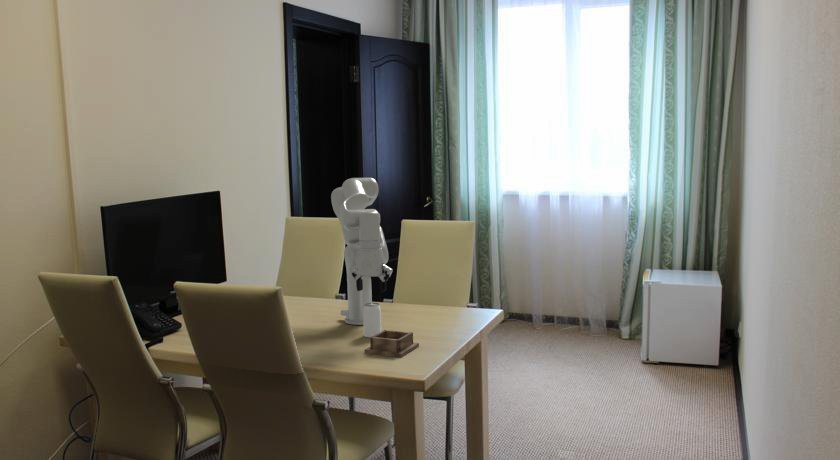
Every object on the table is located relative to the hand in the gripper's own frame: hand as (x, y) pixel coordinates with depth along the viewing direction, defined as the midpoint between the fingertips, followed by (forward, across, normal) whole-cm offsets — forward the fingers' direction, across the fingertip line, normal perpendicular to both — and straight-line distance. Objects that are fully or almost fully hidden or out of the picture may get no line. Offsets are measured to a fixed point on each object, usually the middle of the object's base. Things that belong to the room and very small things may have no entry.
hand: (371, 291), depth 272 cm
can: (+17, 0, +1) cm, 17 cm away
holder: (+17, +14, -13) cm, 26 cm away
